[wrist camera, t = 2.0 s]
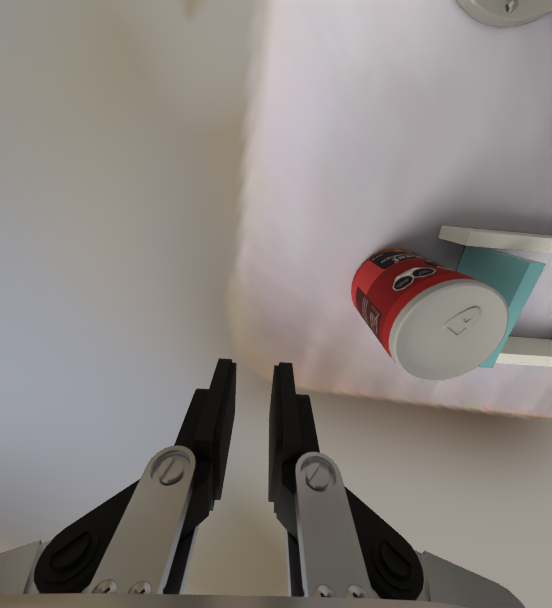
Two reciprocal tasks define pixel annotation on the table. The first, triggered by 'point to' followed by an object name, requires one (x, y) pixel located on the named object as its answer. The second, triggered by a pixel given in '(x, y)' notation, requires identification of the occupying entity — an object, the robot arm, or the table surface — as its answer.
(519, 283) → the pusher
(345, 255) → the table surface
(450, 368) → the canned food
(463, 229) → the lane
